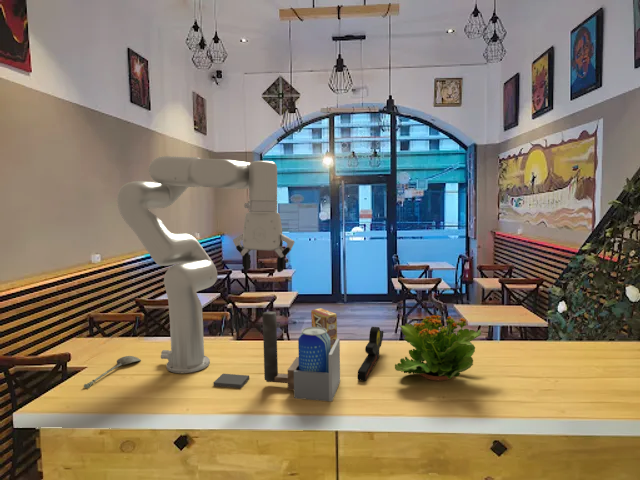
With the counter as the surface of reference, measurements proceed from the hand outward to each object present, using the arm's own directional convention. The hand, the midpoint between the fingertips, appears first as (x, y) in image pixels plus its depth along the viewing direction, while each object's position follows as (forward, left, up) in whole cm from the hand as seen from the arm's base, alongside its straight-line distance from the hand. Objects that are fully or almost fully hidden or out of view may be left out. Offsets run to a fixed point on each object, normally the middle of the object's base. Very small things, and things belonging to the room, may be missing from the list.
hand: (263, 270), depth 118 cm
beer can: (+15, -4, -31) cm, 35 cm away
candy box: (+13, +17, -31) cm, 38 cm away
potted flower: (+47, +12, -31) cm, 58 cm away
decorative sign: (+28, +16, -31) cm, 45 cm away
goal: (+15, -4, -31) cm, 35 cm away
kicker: (+6, -4, -30) cm, 30 cm away
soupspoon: (-47, -3, -32) cm, 56 cm away
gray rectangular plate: (-9, -4, -31) cm, 32 cm away
